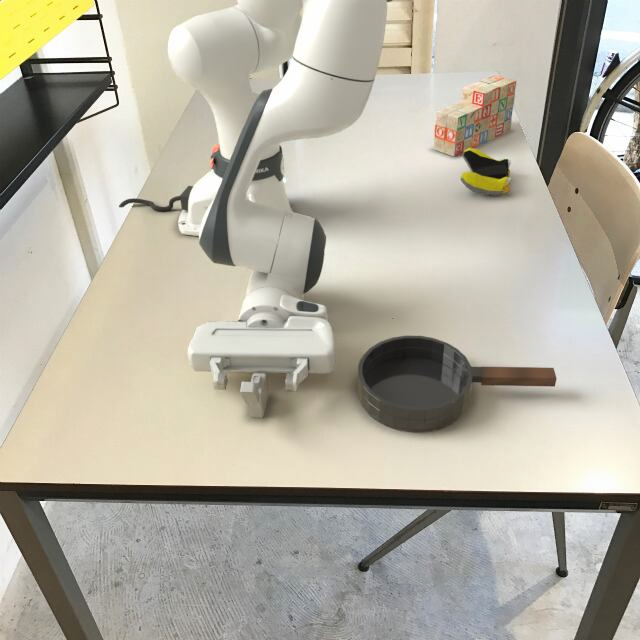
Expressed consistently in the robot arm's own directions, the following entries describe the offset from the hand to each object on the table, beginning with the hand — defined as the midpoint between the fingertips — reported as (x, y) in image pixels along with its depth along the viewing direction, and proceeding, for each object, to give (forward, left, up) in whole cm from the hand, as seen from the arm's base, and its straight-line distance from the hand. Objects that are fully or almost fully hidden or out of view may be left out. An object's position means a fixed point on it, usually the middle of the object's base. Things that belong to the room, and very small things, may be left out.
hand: (255, 386), depth 90 cm
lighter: (0, 0, -5) cm, 5 cm away
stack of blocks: (+38, +93, -5) cm, 101 cm away
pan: (+21, +5, -5) cm, 22 cm away
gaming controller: (+38, +69, -5) cm, 79 cm away
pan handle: (+34, +5, -3) cm, 34 cm away
